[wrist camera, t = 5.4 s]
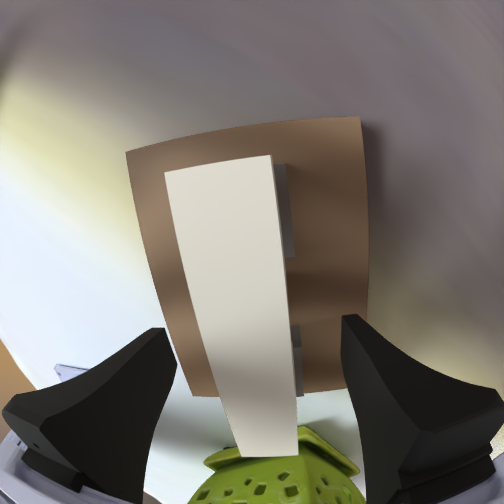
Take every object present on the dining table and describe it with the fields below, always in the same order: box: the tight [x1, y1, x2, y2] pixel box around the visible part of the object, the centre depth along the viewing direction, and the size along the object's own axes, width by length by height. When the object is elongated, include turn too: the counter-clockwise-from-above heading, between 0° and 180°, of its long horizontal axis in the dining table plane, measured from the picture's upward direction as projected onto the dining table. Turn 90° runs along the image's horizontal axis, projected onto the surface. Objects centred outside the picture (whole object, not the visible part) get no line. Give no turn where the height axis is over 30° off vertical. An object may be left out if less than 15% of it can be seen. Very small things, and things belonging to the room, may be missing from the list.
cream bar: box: [164, 155, 298, 457], centre depth 12 cm, size 14×3×4 cm, turn 8°
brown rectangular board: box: [126, 117, 369, 397], centre depth 14 cm, size 17×12×5 cm
